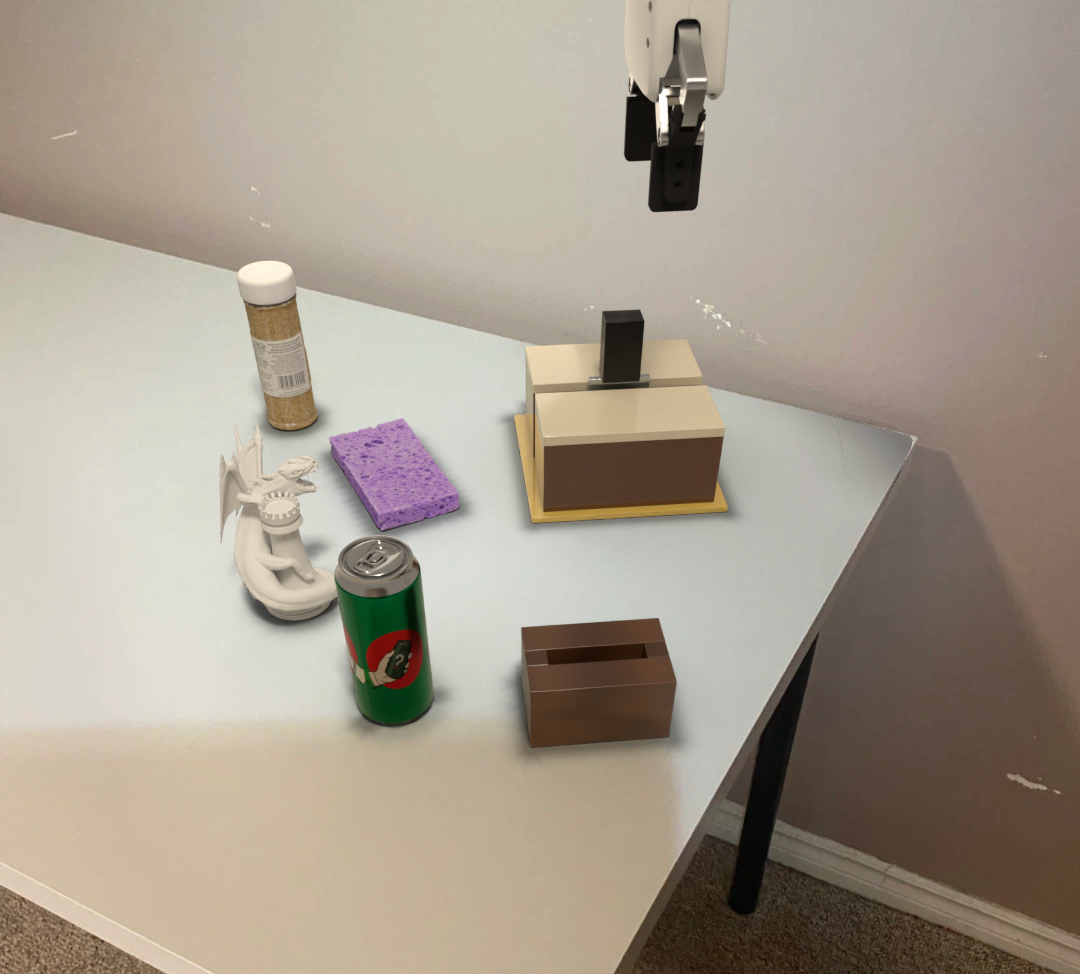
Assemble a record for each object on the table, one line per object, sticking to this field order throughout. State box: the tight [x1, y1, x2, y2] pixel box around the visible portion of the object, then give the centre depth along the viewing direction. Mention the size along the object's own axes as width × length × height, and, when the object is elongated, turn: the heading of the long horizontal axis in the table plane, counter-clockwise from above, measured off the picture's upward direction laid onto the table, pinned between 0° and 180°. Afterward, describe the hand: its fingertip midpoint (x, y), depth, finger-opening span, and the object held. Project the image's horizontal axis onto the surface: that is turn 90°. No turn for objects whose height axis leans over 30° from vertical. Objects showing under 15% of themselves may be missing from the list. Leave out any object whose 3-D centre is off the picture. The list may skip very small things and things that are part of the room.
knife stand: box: [520, 617, 678, 748], centre depth 65 cm, size 9×6×5 cm, turn 96°
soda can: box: [333, 534, 434, 725], centre depth 63 cm, size 5×5×12 cm
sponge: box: [328, 417, 461, 531], centre depth 85 cm, size 7×13×2 cm, turn 26°
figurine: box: [219, 421, 338, 622], centre depth 72 cm, size 11×8×12 cm
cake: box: [513, 338, 729, 524], centre depth 85 cm, size 16×16×7 cm
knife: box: [588, 308, 650, 391], centre depth 83 cm, size 5×2×12 cm, turn 96°
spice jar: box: [236, 260, 318, 431], centre depth 87 cm, size 5×5×13 cm
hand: (658, 183), depth 70 cm, fingers open, 9 cm apart
